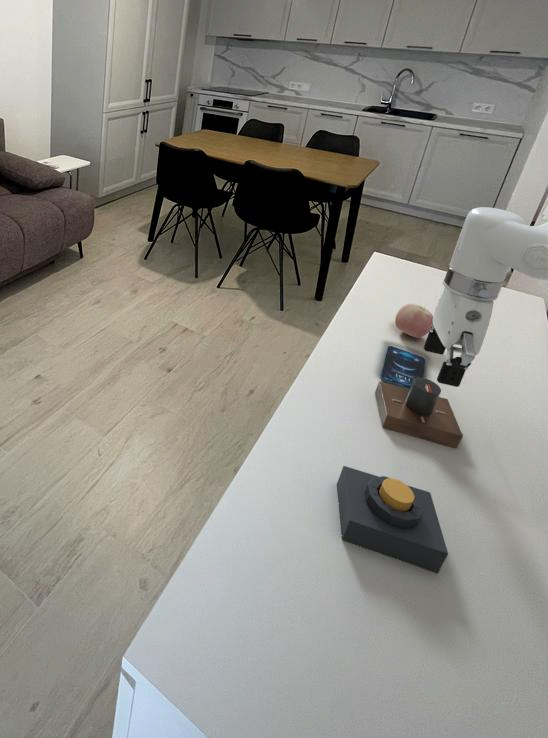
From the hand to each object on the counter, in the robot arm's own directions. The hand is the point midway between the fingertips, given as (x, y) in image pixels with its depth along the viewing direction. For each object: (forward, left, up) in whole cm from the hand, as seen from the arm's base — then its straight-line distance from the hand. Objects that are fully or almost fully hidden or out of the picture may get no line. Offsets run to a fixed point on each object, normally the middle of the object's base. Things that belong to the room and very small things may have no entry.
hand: (439, 367), depth 88 cm
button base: (+10, +27, -13) cm, 31 cm away
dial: (+1, 0, -10) cm, 10 cm away
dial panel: (+1, 0, -13) cm, 13 cm away
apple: (-4, -32, -13) cm, 35 cm away
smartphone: (0, -16, -13) cm, 21 cm away
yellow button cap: (+10, +27, -7) cm, 29 cm away
